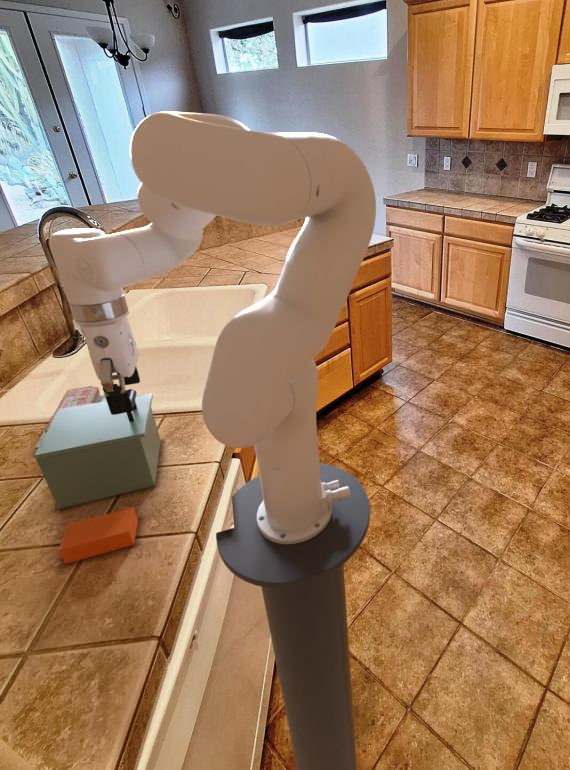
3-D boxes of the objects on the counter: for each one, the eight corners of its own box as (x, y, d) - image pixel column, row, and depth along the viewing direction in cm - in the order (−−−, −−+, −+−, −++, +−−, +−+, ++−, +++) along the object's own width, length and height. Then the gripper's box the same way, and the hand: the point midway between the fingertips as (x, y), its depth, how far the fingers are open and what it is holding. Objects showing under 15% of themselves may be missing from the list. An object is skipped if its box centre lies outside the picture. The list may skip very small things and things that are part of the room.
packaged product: (56, 388, 98) (106, 381, 101) (62, 406, 100) (112, 398, 103) (27, 435, 83) (88, 424, 86) (36, 454, 85) (95, 443, 88)
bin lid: (152, 396, 85) (147, 375, 83) (145, 437, 73) (138, 413, 71) (59, 413, 79) (50, 391, 77) (35, 459, 68) (24, 435, 66)
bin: (161, 441, 89) (148, 397, 85) (154, 485, 78) (139, 438, 73) (78, 458, 84) (59, 413, 79) (58, 509, 73) (35, 459, 68)
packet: (138, 520, 71) (133, 507, 70) (134, 544, 67) (129, 531, 65) (73, 537, 68) (67, 524, 66) (65, 564, 64) (58, 550, 62)
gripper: (118, 325, 63) (145, 420, 71) (133, 289, 77) (155, 371, 85) (56, 332, 60) (91, 430, 68) (84, 293, 75) (111, 377, 82)
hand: (126, 397), depth 76 cm, fingers open, 9 cm apart
